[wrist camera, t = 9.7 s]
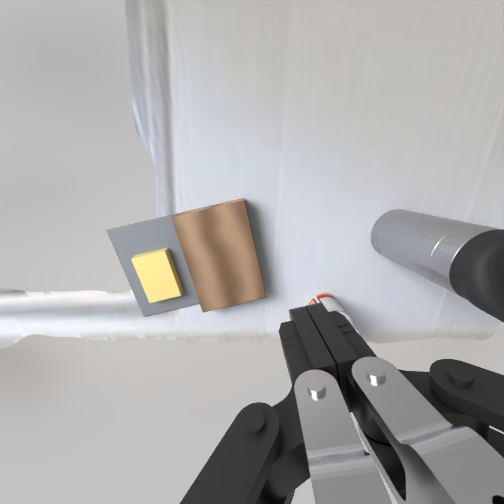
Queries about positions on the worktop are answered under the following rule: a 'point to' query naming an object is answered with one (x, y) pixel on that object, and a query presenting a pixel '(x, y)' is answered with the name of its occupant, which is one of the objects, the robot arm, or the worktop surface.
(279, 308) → the worktop surface
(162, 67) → the worktop surface
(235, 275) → the brown wooden block
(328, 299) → the pill bottle
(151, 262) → the yellow rectangular block
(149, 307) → the mat
